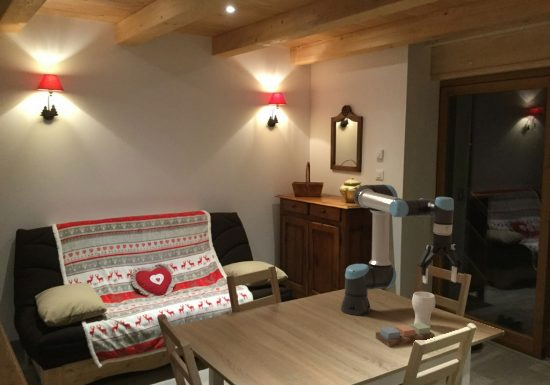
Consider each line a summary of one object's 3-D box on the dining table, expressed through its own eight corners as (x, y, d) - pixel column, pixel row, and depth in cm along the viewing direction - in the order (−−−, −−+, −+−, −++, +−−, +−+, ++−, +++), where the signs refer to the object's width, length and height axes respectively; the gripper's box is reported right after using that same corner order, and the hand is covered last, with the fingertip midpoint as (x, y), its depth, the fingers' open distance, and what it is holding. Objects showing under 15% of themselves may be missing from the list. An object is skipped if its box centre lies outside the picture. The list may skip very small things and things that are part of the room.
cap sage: (410, 330, 220) (410, 324, 219) (421, 329, 222) (421, 322, 221) (418, 335, 214) (419, 329, 214) (429, 333, 216) (430, 327, 216)
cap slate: (380, 335, 214) (380, 328, 213) (391, 333, 216) (391, 326, 216) (388, 340, 208) (388, 333, 208) (399, 338, 210) (400, 331, 210)
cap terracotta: (395, 332, 217) (395, 326, 216) (406, 331, 219) (406, 324, 219) (403, 337, 211) (403, 331, 211) (415, 336, 213) (415, 329, 213)
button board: (388, 346, 206) (388, 341, 206) (375, 337, 215) (375, 332, 215) (434, 339, 215) (434, 334, 215) (420, 331, 224) (420, 326, 224)
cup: (435, 330, 226) (437, 299, 224) (411, 328, 228) (413, 297, 226) (432, 322, 236) (434, 292, 234) (410, 320, 238) (411, 290, 237)
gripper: (420, 235, 200) (417, 286, 202) (473, 234, 205) (470, 283, 208) (411, 232, 207) (408, 280, 210) (463, 231, 213) (460, 278, 215)
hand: (439, 282), depth 209 cm, fingers open, 13 cm apart
